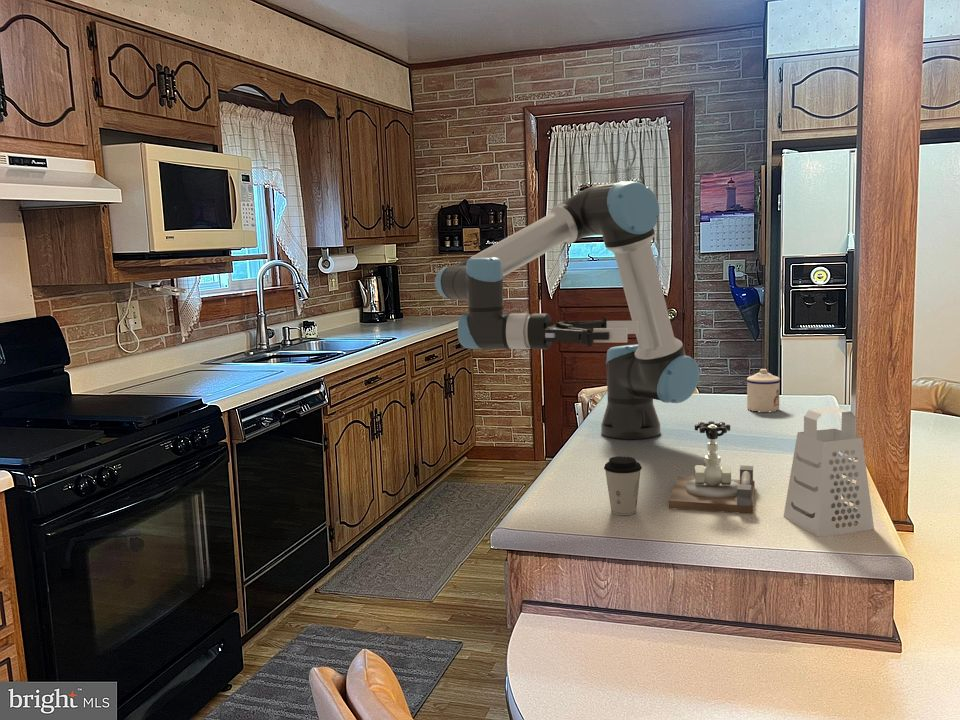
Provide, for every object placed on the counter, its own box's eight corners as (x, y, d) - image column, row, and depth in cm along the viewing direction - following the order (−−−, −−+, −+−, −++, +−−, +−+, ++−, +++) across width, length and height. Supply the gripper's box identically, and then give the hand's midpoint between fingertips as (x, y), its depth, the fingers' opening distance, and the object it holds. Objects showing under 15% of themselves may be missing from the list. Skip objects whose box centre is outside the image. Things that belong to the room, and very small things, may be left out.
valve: (732, 491, 156) (732, 429, 154) (695, 490, 157) (695, 428, 155) (728, 480, 162) (728, 421, 160) (694, 480, 164) (693, 421, 162)
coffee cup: (650, 512, 153) (649, 460, 152) (622, 520, 150) (621, 467, 148) (624, 503, 159) (623, 452, 158) (597, 511, 155) (595, 459, 154)
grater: (874, 529, 140) (877, 414, 137) (818, 536, 138) (820, 419, 135) (835, 510, 150) (837, 402, 147) (783, 516, 148) (784, 407, 145)
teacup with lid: (781, 413, 230) (782, 371, 228) (747, 412, 232) (747, 372, 230) (777, 404, 241) (777, 365, 240) (744, 404, 244) (744, 365, 242)
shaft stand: (677, 483, 170) (677, 462, 170) (754, 487, 165) (754, 466, 164) (668, 508, 155) (668, 485, 155) (752, 513, 150) (752, 489, 150)
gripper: (546, 341, 185) (642, 341, 178) (513, 358, 162) (622, 359, 154) (545, 308, 184) (641, 306, 177) (512, 319, 160) (621, 319, 153)
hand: (633, 331), depth 165 cm, fingers open, 13 cm apart
